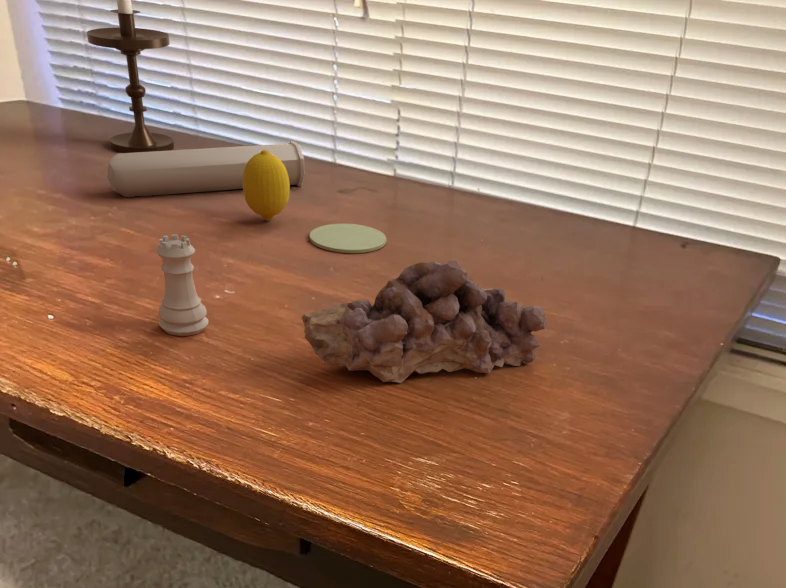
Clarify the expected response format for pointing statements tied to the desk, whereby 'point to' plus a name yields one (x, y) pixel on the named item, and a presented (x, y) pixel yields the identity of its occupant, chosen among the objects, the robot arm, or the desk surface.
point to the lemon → (266, 184)
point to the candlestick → (133, 76)
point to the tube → (194, 169)
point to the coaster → (347, 238)
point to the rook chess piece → (180, 289)
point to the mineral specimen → (426, 326)
